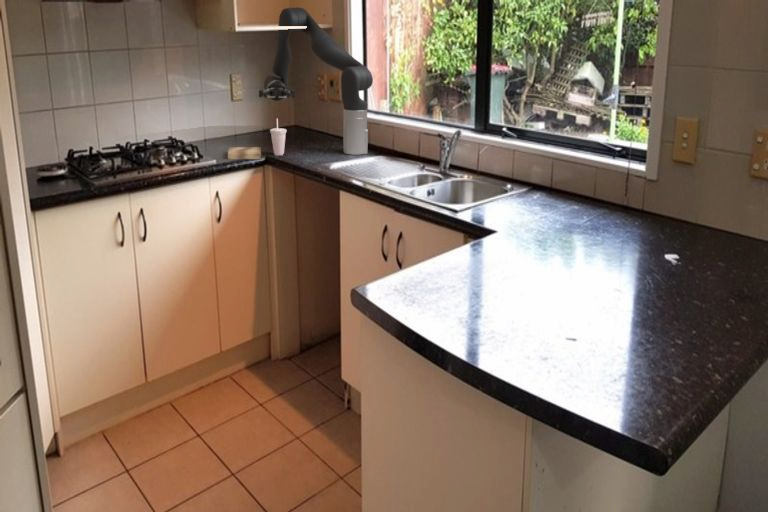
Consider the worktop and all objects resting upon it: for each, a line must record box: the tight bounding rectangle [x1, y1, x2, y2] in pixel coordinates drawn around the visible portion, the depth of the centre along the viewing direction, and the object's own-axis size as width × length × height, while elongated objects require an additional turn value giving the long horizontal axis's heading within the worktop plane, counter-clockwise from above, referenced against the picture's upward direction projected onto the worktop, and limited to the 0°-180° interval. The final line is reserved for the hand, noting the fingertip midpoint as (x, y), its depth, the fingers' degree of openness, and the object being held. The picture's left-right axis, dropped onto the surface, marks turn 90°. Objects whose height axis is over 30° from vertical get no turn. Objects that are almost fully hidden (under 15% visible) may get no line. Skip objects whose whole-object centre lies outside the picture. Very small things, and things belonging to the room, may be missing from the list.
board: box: [227, 146, 262, 160], centre depth 273 cm, size 12×12×2 cm
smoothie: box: [269, 117, 287, 156], centre depth 274 cm, size 6×6×14 cm
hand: (277, 95), depth 280 cm, fingers open, 8 cm apart
